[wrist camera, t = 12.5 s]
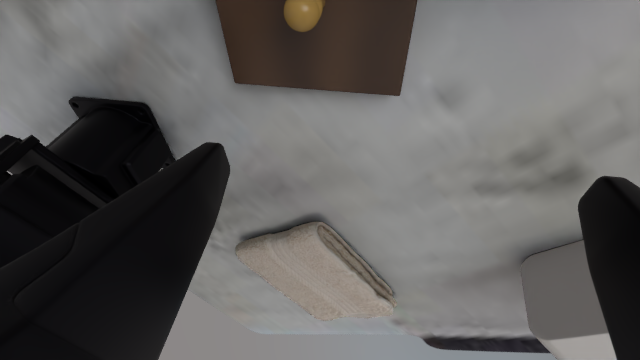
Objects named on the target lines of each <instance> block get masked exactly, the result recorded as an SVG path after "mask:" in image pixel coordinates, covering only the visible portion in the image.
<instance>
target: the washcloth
mask: <svg viewBox="0 0 640 360" xmlns="http://www.w3.org/2000/svg"><path fill="white" fill-rule="evenodd" d="M235 251H236V255H237V257H238V259H239V260H240V261H241V262H243V263H244V264H245V265H246V266H247V267H249V268H250V269H251V270H252V271H254V272H255V273H257V274H258V275H260V276H261V277H263V278H264V279H265V280H266V281H267V282H268V283H270V285H272V286H274V287H275V288H276V289H277V290H278V291H281V292H282V293H283V294H284V295H285V296H287V297H289V299H290V300H292V301H294V302H296V303H297V304H298V305H299V306H301V307H302V308H303V309H304V310H306V311H307V312H308V313H310V315H313V316H314V318H316V319H319V320H322V321H327V320H333V319H336V318H343V317H357V318H372V317H380V316H390V315H392V314H393V308H394V307H396V306H397V302H396V301H395V299H394V297H392V294H393V293H392V290H391V289H390V287H389V286H388V285H387V284H386V283H385V282H384V281H383V280H382V279H381V278H379V277H378V276H377V275H376V274H375V272H374V271H373V270H372V269H371V268H370V266H369V265H368V264H367V263H366V262H365V261H364V260H363V259H362V258H361V257H360V256H358V255H357V254H356V253H355V252H354V251H353V250H352V248H351V247H350V246H349V245H348V244H347V243H346V242H345V241H344V240H343V239H342V238H341V237H340V236H339V235H338V234H337V233H336V232H335V231H334V230H333V229H332V228H331V227H330V226H328V225H327V224H325V223H323V222H310V223H306V224H302V225H300V226H296V227H293V228H292V229H290V230H288V231H283V232H278V233H276V234H269V233H268V234H267V235H263V236H258V237H257V238H252V239H249V240H246V241H243V242H241V243H239V244H238V245H237V246H236V250H235Z"/></svg>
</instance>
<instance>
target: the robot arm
mask: <svg viewBox="0 0 640 360" xmlns="http://www.w3.org/2000/svg"><path fill="white" fill-rule="evenodd" d="M69 104H70V106H71V107H72V109H73V110H74V112H75V113H76V115H77V116H78V117H79V119H78V120H77V121H75V122H74V123H73V124H72V125H71V126H70V127H68V128H67V129H66V130H65V131H64V132H63V133H61V134H60V135H59V136H58V137H57V138H56V139H54V140H53V141H52V142H51V143H50V144H49V145H47V146H46V147H45V146H44V145H42V144H41V143H40V141H39V140H38V139H37V138H36V137H34V136H33V135H30V136H29V137H27V138H25V139H24V140H22V139H20V138H16V137H13V136H9V135H5V136H3V137H2V138H0V360H158V359H159V356H160V354H161V351H162V349H163V347H164V344H165V342H166V340H167V337H168V335H169V332H170V330H171V328H172V325H173V323H174V320H175V318H176V316H177V313H178V311H179V309H180V306H181V304H182V301H183V299H184V297H185V294H186V292H187V290H188V287H189V285H190V282H191V280H192V278H193V275H194V273H195V270H196V268H197V266H198V263H199V261H200V259H201V256H202V254H203V251H204V249H205V247H206V244H207V242H208V240H209V237H210V235H211V232H212V230H213V227H214V225H215V222H216V219H217V216H218V213H219V210H220V206H221V203H222V199H223V196H224V192H225V189H226V185H227V182H228V178H229V175H230V165H229V162H228V159H227V156H226V153H225V150H224V147H223V146H222V144H220V143H212V142H206V143H204V144H202V145H201V146H199V147H197V148H196V149H194V150H193V151H191V152H189V153H188V154H186V155H185V156H183V157H181V158H180V159H178V160H177V161H175V160H174V158H173V156H172V154H171V151H170V149H169V147H168V145H167V143H166V141H165V139H164V137H163V135H162V133H161V131H160V128H159V126H158V124H157V122H156V120H155V118H154V116H153V114H152V112H151V110H150V108H149V107H148V106H147V105H146V104H144V103H141V102H130V101H119V100H108V99H97V98H86V97H73V98H71V99H70V100H69ZM161 168H164V169H162V170H161V171H159V170H160V169H161ZM6 171H9V172H11V173H12V174H13V175H10V174H9V173H8V172H6ZM158 171H159V172H158ZM578 212H579V218H580V223H581V229H582V235H583V240H584V246H585V252H586V257H587V262H588V267H589V271H590V274H591V278H592V281H593V284H594V288H595V291H596V294H597V297H598V301H599V304H600V307H601V310H602V313H603V317H604V320H605V323H606V326H607V329H608V333H609V336H610V339H611V342H612V346H613V349H614V352H615V355H616V358H617V360H640V188H639V187H638V186H636V185H635V184H633V183H632V182H630V181H629V180H627V179H625V178H621V177H610V176H602V177H600V178H598V179H597V180H596V181H595V182H594V183H593V185H592V186H591V187H590V188H589V189H588V190H587V192H586V193H585V194H584V195H583V196H582V198H581V199H580V201H579V204H578Z"/></svg>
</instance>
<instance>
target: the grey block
mask: <svg viewBox="0 0 640 360" xmlns="http://www.w3.org/2000/svg"><path fill="white" fill-rule="evenodd" d="M521 277H522V284H523V291H524V298H525V305H526V311H527V318H528V324H529V328H530V331H531V332H532V333H533V335H534V336H535V337H536V338H537V339H538V340H539V341H540V342H541V343H542V344H543V345H544V346H545V347H546V348H547V349H548V350H549V351H550V352H551V353H552V354H553V355H554V356H555V358H556V359H557V360H617V358H616V355H615V352H614V349H613V346H612V342H611V339H610V336H609V333H608V329H607V326H606V323H605V320H604V317H603V313H602V310H601V307H600V304H599V301H598V297H597V294H596V291H595V288H594V284H593V281H592V278H591V274H590V271H589V267H588V262H587V257H586V252H585V246H584V240H582V241H578V242H575V243H571V244H568V245H565V246H561V247H558V248H554V249H551V250H548V251H544V252H541V253H537V254H534V255H532V256H530V257H528V258H527V259H526V260H525V261H524V262H523V264H522V265H521Z"/></svg>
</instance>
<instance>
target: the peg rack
mask: <svg viewBox="0 0 640 360" xmlns="http://www.w3.org/2000/svg"><path fill="white" fill-rule="evenodd" d="M216 4H217V9H218V13H219V17H220V21H221V26H222V30H223V34H224V38H225V43H226V47H227V51H228V56H229V60H230V64H231V68H232V73H233V77H234V81H235V83H238V84H251V85H264V86H277V87H290V88H303V89H316V90H329V91H342V92H355V93H368V94H381V95H394V96H399V95H400V92H401V87H402V81H403V76H404V70H405V65H406V60H407V54H408V49H409V43H410V38H411V32H412V27H413V21H414V16H415V10H416V5H417V0H216Z"/></svg>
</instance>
